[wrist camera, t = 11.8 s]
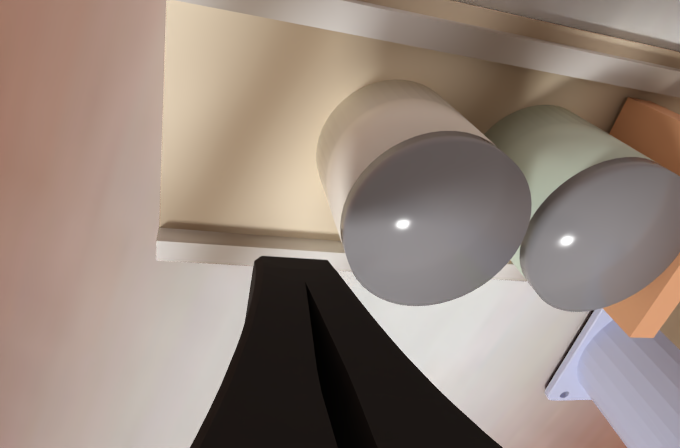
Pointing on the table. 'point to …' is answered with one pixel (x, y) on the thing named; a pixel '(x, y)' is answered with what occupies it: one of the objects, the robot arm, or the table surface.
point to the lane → (337, 84)
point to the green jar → (588, 209)
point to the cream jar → (419, 194)
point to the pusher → (676, 155)
